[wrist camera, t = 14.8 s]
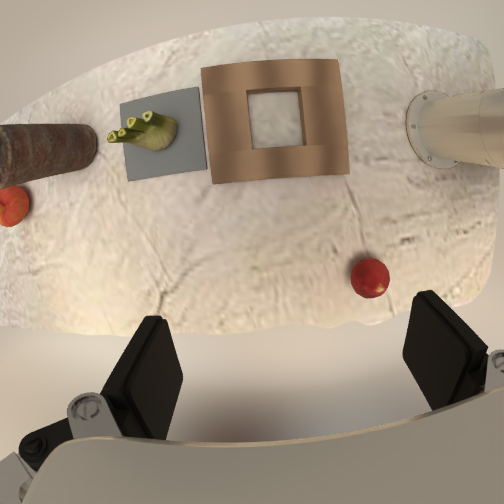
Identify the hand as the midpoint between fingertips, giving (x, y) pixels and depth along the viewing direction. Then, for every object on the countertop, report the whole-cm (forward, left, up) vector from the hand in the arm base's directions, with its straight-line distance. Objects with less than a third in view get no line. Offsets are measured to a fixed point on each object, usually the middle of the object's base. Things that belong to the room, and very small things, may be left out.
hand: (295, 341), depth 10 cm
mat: (+14, -11, -32) cm, 37 cm away
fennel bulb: (+14, -11, -32) cm, 36 cm away
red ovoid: (-14, +12, -32) cm, 37 cm away
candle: (+28, -12, -32) cm, 45 cm away
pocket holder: (-2, -11, -32) cm, 34 cm away
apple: (+44, -6, -32) cm, 55 cm away
